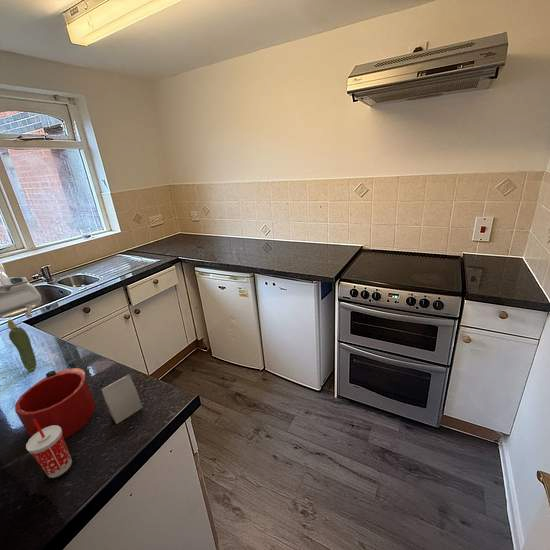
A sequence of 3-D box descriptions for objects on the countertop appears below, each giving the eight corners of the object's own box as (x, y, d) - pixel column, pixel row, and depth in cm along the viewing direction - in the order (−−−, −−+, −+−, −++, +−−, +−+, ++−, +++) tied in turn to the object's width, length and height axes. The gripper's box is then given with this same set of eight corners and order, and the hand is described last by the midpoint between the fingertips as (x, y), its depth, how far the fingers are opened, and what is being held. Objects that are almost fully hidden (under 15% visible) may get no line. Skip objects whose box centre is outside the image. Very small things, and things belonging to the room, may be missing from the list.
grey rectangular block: (142, 407, 79) (132, 377, 76) (116, 424, 75) (103, 393, 71) (137, 401, 82) (126, 371, 78) (111, 416, 78) (99, 386, 74)
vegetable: (28, 368, 102) (3, 317, 95) (43, 363, 104) (19, 313, 97) (25, 375, 99) (-2, 323, 92) (41, 370, 100) (16, 318, 93)
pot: (33, 455, 69) (15, 425, 66) (29, 420, 80) (14, 392, 76) (101, 418, 77) (89, 389, 74) (90, 390, 88) (79, 364, 85)
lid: (27, 417, 81) (18, 401, 79) (24, 389, 92) (17, 374, 90) (90, 386, 90) (84, 371, 88) (81, 364, 101) (75, 350, 99)
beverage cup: (71, 449, 69) (47, 403, 64) (79, 464, 65) (55, 416, 60) (40, 470, 65) (12, 422, 60) (47, 487, 61) (18, 438, 56)
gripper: (-49, 297, 93) (-33, 333, 90) (30, 275, 107) (46, 306, 104) (-42, 306, 98) (-27, 341, 95) (33, 284, 111) (49, 314, 108)
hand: (12, 323), depth 99 cm, fingers open, 8 cm apart
